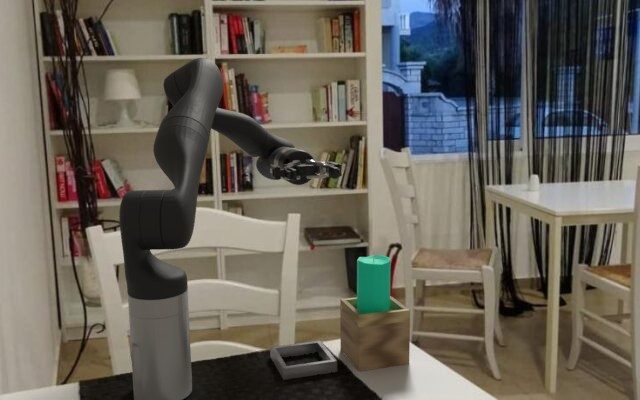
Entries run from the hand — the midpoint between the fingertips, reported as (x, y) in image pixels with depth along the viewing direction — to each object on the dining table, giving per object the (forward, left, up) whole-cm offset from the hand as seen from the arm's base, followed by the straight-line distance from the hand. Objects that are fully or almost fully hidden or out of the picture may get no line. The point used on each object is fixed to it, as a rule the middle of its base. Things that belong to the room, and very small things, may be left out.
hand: (316, 174), depth 123 cm
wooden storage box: (+6, -16, -32) cm, 36 cm away
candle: (+6, -16, -24) cm, 30 cm away
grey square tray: (-8, -15, -32) cm, 36 cm away
